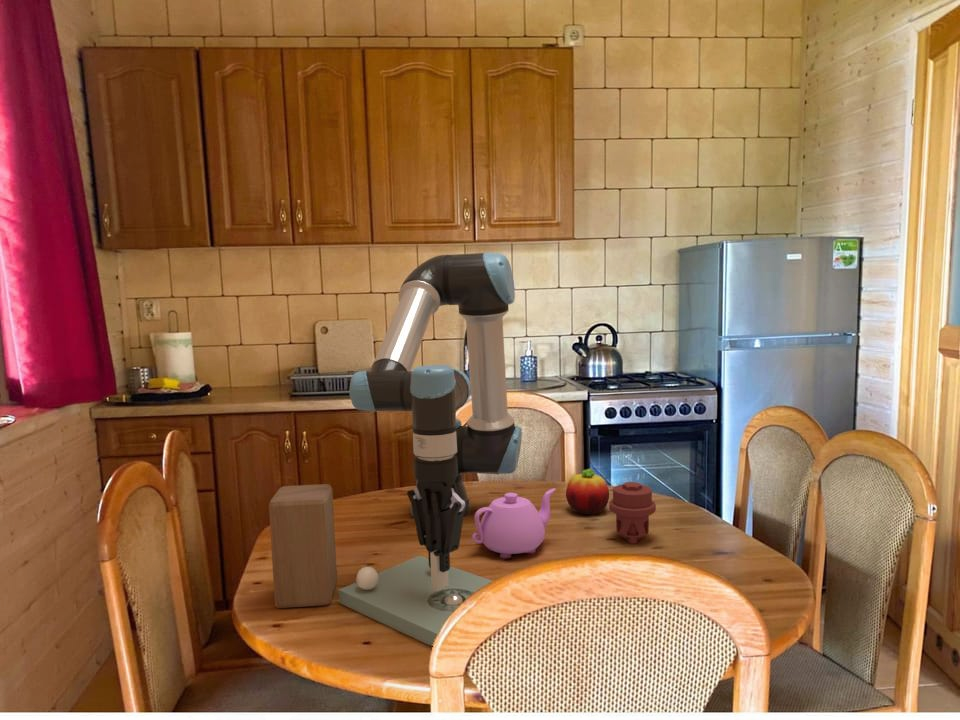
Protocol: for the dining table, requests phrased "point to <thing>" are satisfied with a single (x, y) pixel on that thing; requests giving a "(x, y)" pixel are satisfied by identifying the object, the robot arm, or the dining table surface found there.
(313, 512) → the wooden block
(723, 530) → the dining table surface
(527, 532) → the teapot
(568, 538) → the dining table surface
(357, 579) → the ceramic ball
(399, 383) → the robot arm
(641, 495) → the mechanical component
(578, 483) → the fruit
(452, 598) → the steel ball
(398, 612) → the board
